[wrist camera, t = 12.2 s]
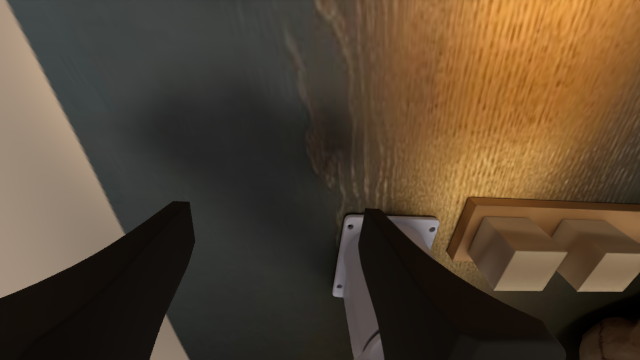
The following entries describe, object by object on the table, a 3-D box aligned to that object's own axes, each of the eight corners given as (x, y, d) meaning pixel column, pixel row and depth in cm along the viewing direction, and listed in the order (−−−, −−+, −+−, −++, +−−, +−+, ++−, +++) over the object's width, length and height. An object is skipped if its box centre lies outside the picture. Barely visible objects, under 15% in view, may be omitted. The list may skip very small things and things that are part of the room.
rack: (637, 255, 29) (699, 300, 25) (446, 251, 27) (476, 299, 23) (679, 206, 26) (758, 246, 22) (468, 196, 24) (508, 239, 20)
